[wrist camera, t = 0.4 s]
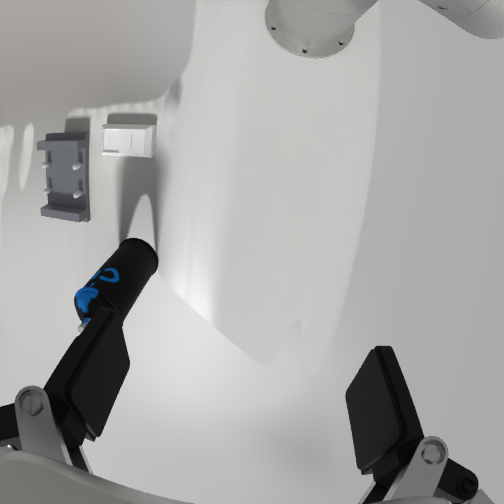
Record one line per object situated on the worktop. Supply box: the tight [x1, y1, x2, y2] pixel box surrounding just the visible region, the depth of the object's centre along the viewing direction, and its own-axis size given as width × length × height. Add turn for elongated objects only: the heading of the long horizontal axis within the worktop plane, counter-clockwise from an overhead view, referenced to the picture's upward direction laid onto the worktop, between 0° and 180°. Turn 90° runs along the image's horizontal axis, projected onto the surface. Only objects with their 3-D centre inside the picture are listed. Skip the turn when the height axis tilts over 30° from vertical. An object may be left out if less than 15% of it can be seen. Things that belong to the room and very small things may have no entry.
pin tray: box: [37, 132, 90, 222], centre depth 40 cm, size 16×10×4 cm, turn 171°
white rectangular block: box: [101, 124, 156, 158], centre depth 38 cm, size 5×9×3 cm, turn 81°
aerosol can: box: [74, 238, 158, 334], centre depth 40 cm, size 8×8×20 cm
